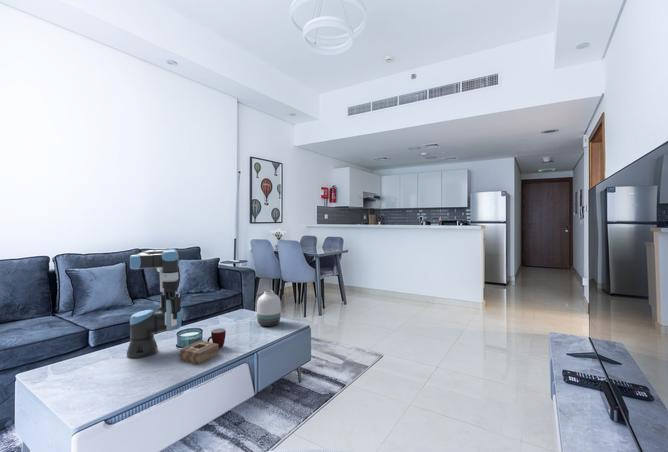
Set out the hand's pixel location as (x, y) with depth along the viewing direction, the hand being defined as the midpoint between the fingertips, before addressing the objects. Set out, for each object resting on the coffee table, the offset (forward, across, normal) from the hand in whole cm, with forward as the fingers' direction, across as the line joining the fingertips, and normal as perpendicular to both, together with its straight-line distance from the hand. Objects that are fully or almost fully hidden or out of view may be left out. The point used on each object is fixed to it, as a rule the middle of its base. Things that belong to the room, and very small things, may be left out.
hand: (170, 324), depth 170 cm
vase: (+21, +9, +75) cm, 78 cm away
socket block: (+21, +8, +12) cm, 25 cm away
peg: (+3, 0, 0) cm, 3 cm away
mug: (+21, +6, +26) cm, 34 cm away
